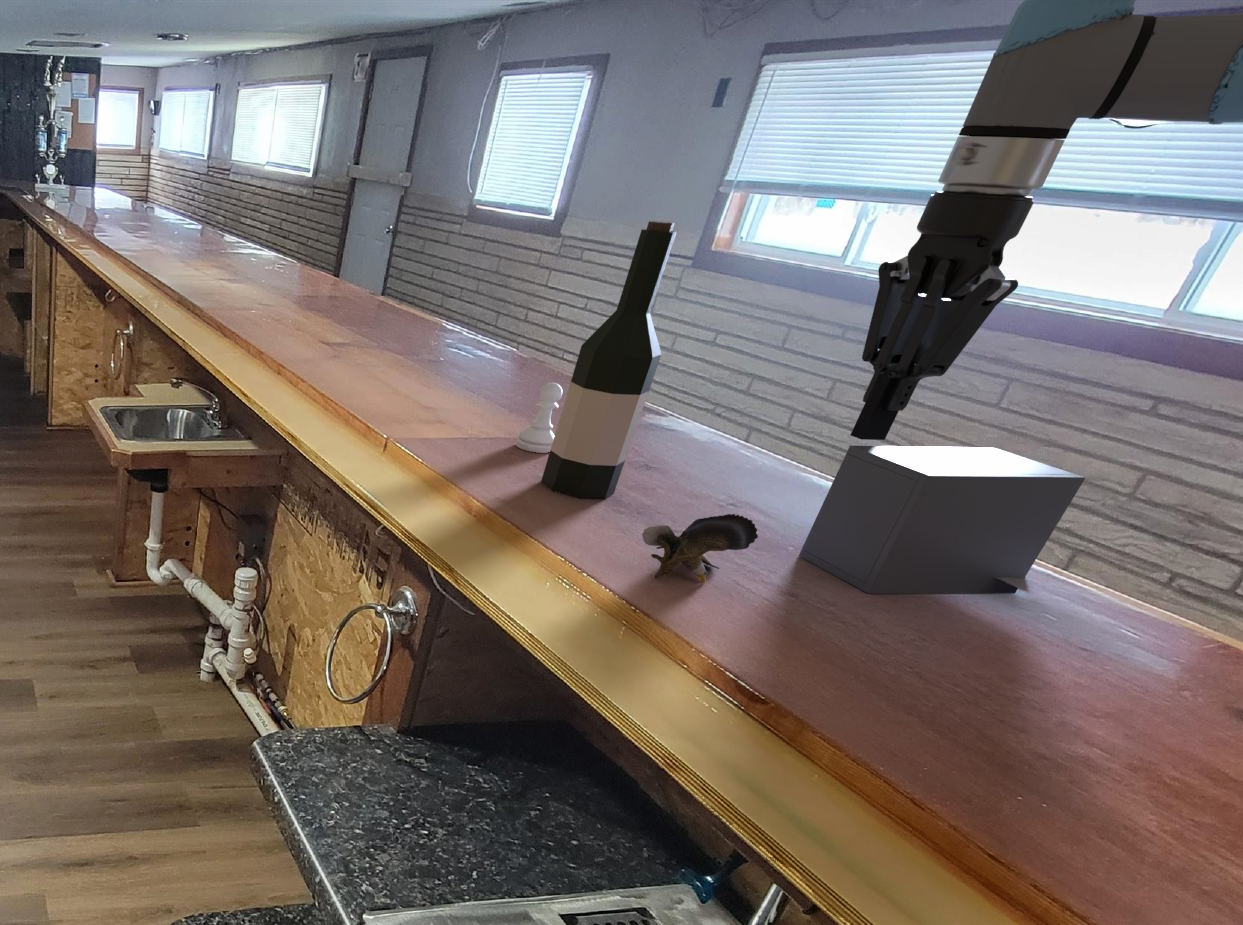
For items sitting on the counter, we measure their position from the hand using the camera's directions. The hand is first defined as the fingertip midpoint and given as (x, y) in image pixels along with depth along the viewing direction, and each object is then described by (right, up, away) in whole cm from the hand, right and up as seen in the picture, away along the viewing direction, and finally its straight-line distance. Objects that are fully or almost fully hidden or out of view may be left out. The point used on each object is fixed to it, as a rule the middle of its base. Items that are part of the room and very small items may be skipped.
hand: (867, 437), depth 96 cm
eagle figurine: (-23, -15, -6) cm, 29 cm away
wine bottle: (-23, -3, +16) cm, 28 cm away
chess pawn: (-21, +5, +30) cm, 37 cm away
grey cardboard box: (0, -15, -4) cm, 15 cm away
